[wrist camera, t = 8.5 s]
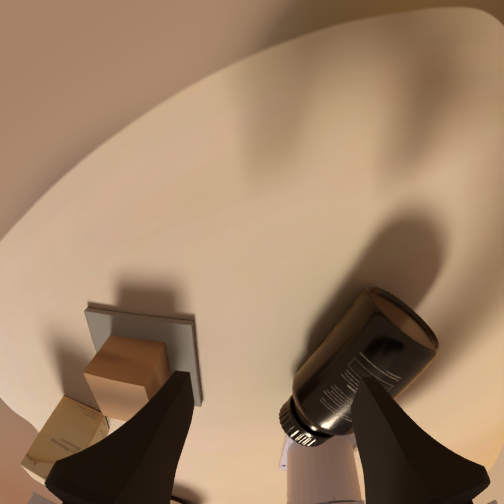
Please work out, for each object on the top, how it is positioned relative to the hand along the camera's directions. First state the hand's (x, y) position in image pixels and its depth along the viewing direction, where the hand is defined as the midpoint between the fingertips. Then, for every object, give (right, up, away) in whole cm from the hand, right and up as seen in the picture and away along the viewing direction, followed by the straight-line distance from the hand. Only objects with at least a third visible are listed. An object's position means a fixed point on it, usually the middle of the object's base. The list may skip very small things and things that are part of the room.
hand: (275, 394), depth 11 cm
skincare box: (-21, -14, +17) cm, 31 cm away
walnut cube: (-10, -3, +11) cm, 16 cm away
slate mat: (-10, -3, +12) cm, 16 cm away
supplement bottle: (+9, +2, +5) cm, 11 cm away
